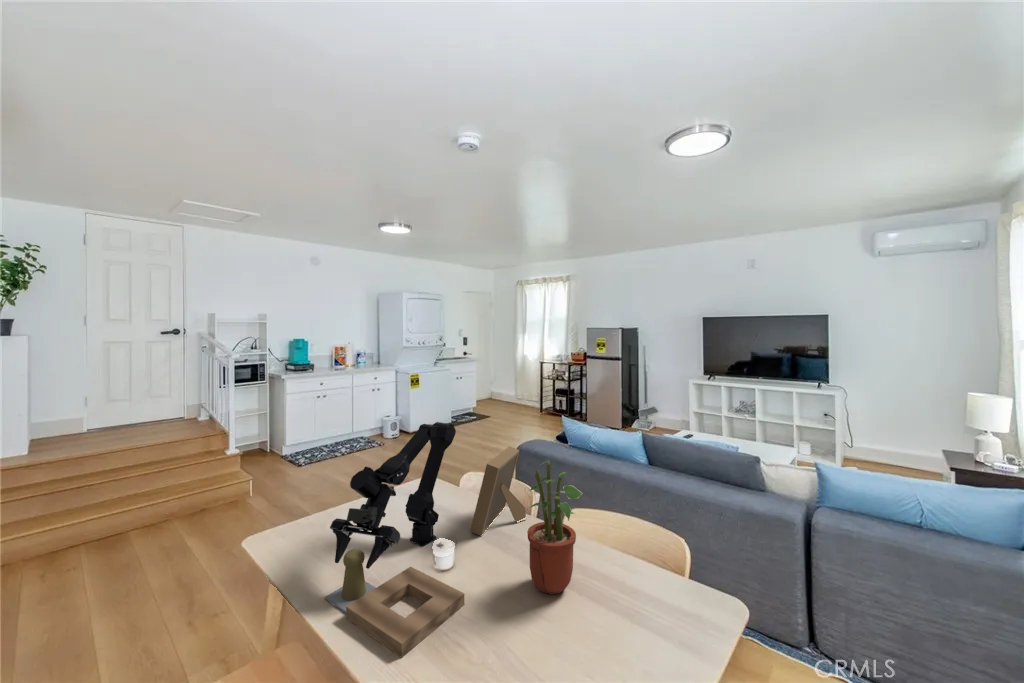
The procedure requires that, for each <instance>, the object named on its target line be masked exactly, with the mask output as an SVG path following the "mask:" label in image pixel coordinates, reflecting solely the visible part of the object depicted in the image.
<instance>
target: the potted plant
mask: <svg viewBox="0 0 1024 683" xmlns="http://www.w3.org/2000/svg"><path fill="white" fill-rule="evenodd" d="M543 464H546V476H543V477H541V476H542V475H541V474H540V471H539V469H538V468H537V469H536V471H535V474H534V475H535V479H536V482H537V485H532V486H531V488H530V489H529V492H530V491H533V490H537V489H538V490H539V494H540V500H541V502H535V503H534V504H532V505H530V506H529V507H528V508H527V510H526V509H525V512H526V511H528V509H529V510H530V508H533V507H537V506H541V509H542V514H543V521H541V522H537V523H534V524H532V525H531V526H529V528H528V529H527V540H528V542H529V569H530V570H529V571H530V577H531V580H532V582H533V584H534V585H535V587H536V588H537V589H538V590H540V591H541V592H543V593H544V592H545V594H547V593H548V595H557V594H560V593H562V592H563V591H565V590H566V589H567V587H568V586H569V584H571V580H572V575H573V570H574V544H575V543H576V540H577V534H576V531H575V530H574V529H573V527H571V526H570V525H567V524H565V523H563V515H564V516H565V517H566V518H567V522H569V521H570V518H571V515H576V513H574V512H573V511H572V508H571V507H570V504H569V503H568V502H561V494H562V493H563V494H565V496H566V498H568V499H569V500H576V499H577V500H578V499H579V498H580V497H581V496H582V495H583V494H584V493H583V492H582V491H580V490H579V489H578V488H577V487H575V486H574V485H571V484H568V485H567V484H565V485H564V486H563V487H561V486H562V483H563V482H562V481H563V480H562V478H563V477H564V478H565V476H566V474H567V471H563V472H561V473H560V474H559V475H558V479H552V466H551V465H552V464H551V461H550V460H546V461H544V462H542V463H541V465H543ZM543 482H545V483H546V484H547V485H546V488H547V489H546V490H547V496H545V495H546V494H545V490H544V485H543ZM552 483H557V486H556V492H553V491H552ZM561 488H562V489H563V491H562V490H561ZM552 494H555V496H554V497H553V498H554V511H552ZM546 497H547V501H546ZM562 514H563V515H562ZM556 593H557V594H556Z"/></svg>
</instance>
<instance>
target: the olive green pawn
mask: <svg viewBox="0 0 1024 683" xmlns="http://www.w3.org/2000/svg"><path fill="white" fill-rule="evenodd" d="M365 558H366V556H365V553H364V551H363V550H362V549H359V548H355V549H349V550H348V551H347V552H345V553H344V554H343V559H342V562H343V565H344V567H345V569H344V576H343V584H342V587H343V589H342V599H343V600H346V601H354V600H357V599H359V598H361V597H362V596H364V595H365V593H366V585H365V581H366V579H365V573H364V572H365V571H364V565H363V563H364V561H365Z"/></svg>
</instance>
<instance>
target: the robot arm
mask: <svg viewBox="0 0 1024 683" xmlns="http://www.w3.org/2000/svg"><path fill="white" fill-rule="evenodd" d="M455 436H456V428H455V426H454V424H452V423H446V422H440V421H439V422H438V421H436V422H435V423H433V424H431V423H430V424H429V423H428V424H427V423H423V424H420V425H419V427H418V430H417V431H416V432H415V433H414V435H413V436H412V437H411V438H409V440H408V441H407V443H406V444H405V445H404V446H403V447H402V449H401V450H399V452H398V453H397V454H396V455H393V456H391V457H389V458H388V459H387V460H386V461H384V462H383V463H382V464H381V465H380V467H379V468H376V469H375V470H374V469H373V468H372V467H370V466H364V467H363V469H362V470H360V471H357V472H356V473H355V474H354V475H353V476H352V477H351V479H350V482H349V485H350V486H349V487H350V488H351V489H352V490H354V491H355V492H356V493H357V494H359V495H360V496H362V497H363V498H364V499H366V502H365V503H362V504H361V505H360V508H353V507H352V508H351V507H349V508H348V512H347V516H346V519H345V518H344V519H343V518H335V519H333V520H332V522H331V524H330V526H329V529H330V530H332V533H333V534H334V535H335V538H336V547H335V557H334V563H335V564H338V563H340V561H341V559H342V557H344V555H345V553H346V552H345V551H346V550H347V548H348V546H349V544H350V542H351V540H352V537H350V536H352V535H353V534H358V535H365V536H372V537H374V544H373V548H372V549H371V551H370V555H369V556H368V559H367V562H366V566H365V568H366V569H367V570H369V569H370V568H371V567H372V565H374V563H375V562H376V561H377V560H378V559H379V558H380V556H382V554H384V552H385V551H387V550H388V549H389V548H390V547H391V548H392V547H393V546H394V544H395V545H398V544H399V542H400V540H401V532H400V531H399V530H398V529H397V528H395V527H394V526H391V525H383V524H382V525H380V524H381V521H382V519H383V518H385V517H386V515H387V513H386V512H385V511H386V508H387V506H388V504H389V500H390V498H391V497H396V496H397V492H396V490H395V487H394V486H401V484H402V483H403V482H404V481H405V480H406V478H407V476H408V474H409V473H410V469H411V468H410V466H411V464H412V463H413V461H414V460H415V458H417V456H418V455H419V454H420V453H421V451H422V450H423V449H424V448H425V446H426V445H427V443H428V442H429V444H430V448H429V452H428V455H427V459H426V461H425V464H424V469H423V471H422V474H421V476H420V481H419V484H418V488H417V490H415V492H413V493H410V494H408V495H409V496H408V497H407V502H406V504H405V513H406V514H405V515H406V517H407V520H408V521H409V522H413V523H412V529H411V536H412V537H410V538H409V541H410V542H412V543H413V544H416V545H419V546H420V547H425V546H426V545H429V544H430V543H431V542H433V541H435V540H437V538H438V536H437V535H435V534H434V526H435V525H436V523H438V521H439V513H438V512H437V511H435V510H434V506H435V500H434V495H433V492H434V488H435V485H436V482H437V479H438V475H439V471H440V469H441V465H442V461H443V459H444V455H445V452H446V450H447V449H448V448H449V447H450V446H451V445H452V443H453V441H454V438H455ZM388 484H389V485H390V486H389V485H388ZM391 485H394V486H391ZM351 522H352V523H351ZM434 539H435V540H434Z"/></svg>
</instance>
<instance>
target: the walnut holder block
mask: <svg viewBox="0 0 1024 683" xmlns="http://www.w3.org/2000/svg"><path fill="white" fill-rule="evenodd" d="M408 596H409V597H412V598H413V599H415V600H417V601H419V602H421V603H422V605H420V606H419V607H418V608H417V609H414V611H412V612H411V613H410V614H408V615H407V616H406V617H404V616H403V615H401V614H399V613H398V612H396V611H394V610H392V609H391V608H392V607H393V606H395V605H396V604H398V603H399V602H401V601H402V600H403V599H405V598H406V597H408ZM464 606H465V592H462V591H461V590H459V589H456V588H454V587H452V586H450V585H448V584H446V583H444V582H442V581H440V580H439V579H437V578H435V577H433V576H431V575H430V574H429V575H428V574H426V573H425V572H424V571H421V570H419V569H417V568H414V567H413V566H409V567H408V568H406V569H404V570H402V571H401V572H399V573H398V574H396V575H394V576H393V577H391V578H389V579H388V580H386V581H385V582H384V583H382V584H380V585H378V586H377V587H376V588H375V589H373V590H372V591H370V592H369V593H367V594H365V595H364V596H362V597H361V598H359V599H357V600H356V601H354V602H353V603H351V604H349V605H348V606H346V613H345V616H346V618H345V620H348V622H350V623H352V624H353V625H355V626H356V627H357V628H359V629H360V630H362V631H363V632H364V633H366V634H367V635H369V636H370V637H372V638H373V639H374V640H376V641H377V642H379V643H380V644H381V645H383V646H384V647H386V648H387V649H389V650H390V651H392V652H393V653H395V654H396V655H397V656H399V657H400V658H404V657H405V656H406V655H407V654H408V653H409V652H411V651H412V650H413V649H415V647H417V646H418V645H419V644H420V643H421V642H423V641H424V640H425V639H426V638H427V637H429V636H430V635H431V634H432V633H433V632H434V631H435V630H437V629H438V628H439V627H440V626H441V625H443V624H444V623H445V622H446V621H447V620H448V619H449V618H451V617H452V616H453V615H455V614H456V613H457V612H458V611H459V610H461V607H463V608H464Z"/></svg>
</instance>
